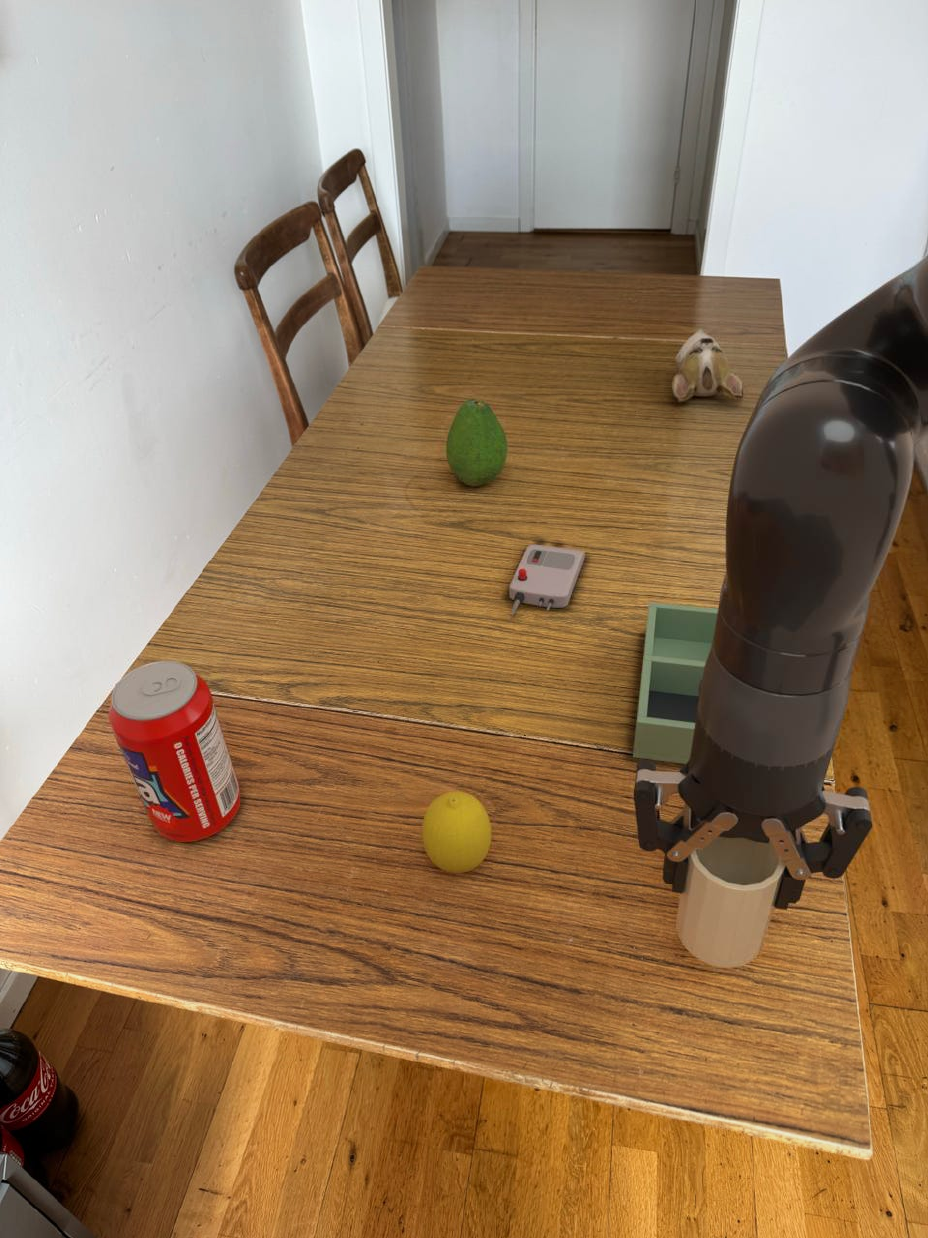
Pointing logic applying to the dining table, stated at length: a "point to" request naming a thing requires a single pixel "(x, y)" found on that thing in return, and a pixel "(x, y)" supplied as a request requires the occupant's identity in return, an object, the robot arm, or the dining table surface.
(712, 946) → the cup
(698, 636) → the holder
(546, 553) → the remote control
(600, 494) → the dining table surface
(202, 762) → the soda can
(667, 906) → the dining table surface
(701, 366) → the ceramic sculpture
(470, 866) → the lemon
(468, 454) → the fruit
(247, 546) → the dining table surface
